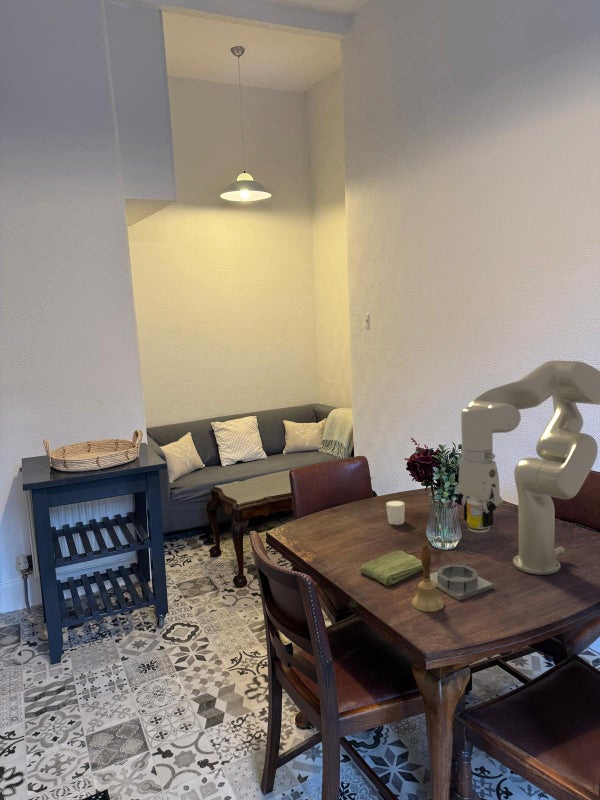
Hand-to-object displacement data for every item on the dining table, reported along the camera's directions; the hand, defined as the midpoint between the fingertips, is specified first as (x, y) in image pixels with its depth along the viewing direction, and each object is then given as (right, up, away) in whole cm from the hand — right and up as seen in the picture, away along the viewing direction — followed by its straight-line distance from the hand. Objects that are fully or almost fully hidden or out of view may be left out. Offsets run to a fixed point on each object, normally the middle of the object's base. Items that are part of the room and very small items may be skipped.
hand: (478, 521), depth 148 cm
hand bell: (-14, -21, -2) cm, 25 cm away
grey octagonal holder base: (-3, -19, +8) cm, 21 cm away
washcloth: (-19, -19, +19) cm, 33 cm away
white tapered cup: (-12, -12, +57) cm, 60 cm away
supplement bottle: (0, -2, 0) cm, 2 cm away
